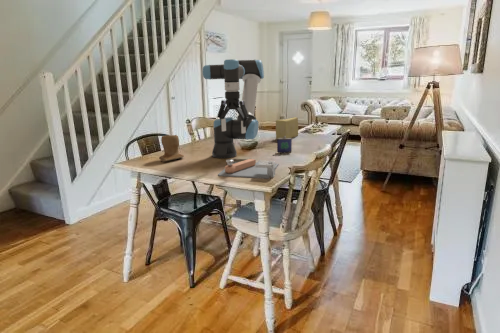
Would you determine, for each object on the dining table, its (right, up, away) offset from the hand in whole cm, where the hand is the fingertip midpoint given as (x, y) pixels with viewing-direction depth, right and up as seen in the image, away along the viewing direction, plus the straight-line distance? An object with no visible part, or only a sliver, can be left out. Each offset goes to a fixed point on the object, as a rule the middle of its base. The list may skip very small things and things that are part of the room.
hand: (233, 132), depth 181 cm
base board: (+8, -20, -2) cm, 22 cm away
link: (+4, -19, -2) cm, 20 cm away
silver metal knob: (-1, -18, -8) cm, 20 cm away
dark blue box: (+31, -9, +36) cm, 48 cm away
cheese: (+39, +4, +85) cm, 93 cm away
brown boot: (-39, -14, +25) cm, 48 cm away
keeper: (+16, -23, -12) cm, 30 cm away
